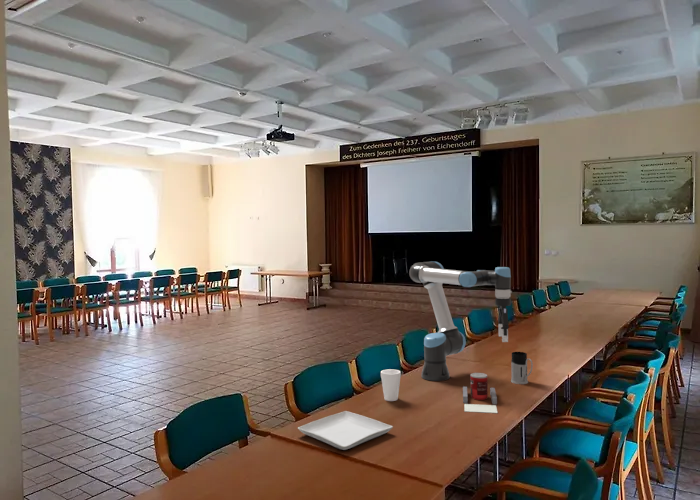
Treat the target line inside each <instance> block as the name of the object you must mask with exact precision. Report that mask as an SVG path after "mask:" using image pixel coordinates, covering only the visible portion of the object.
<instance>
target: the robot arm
mask: <svg viewBox="0 0 700 500" xmlns="http://www.w3.org/2000/svg"><path fill="white" fill-rule="evenodd" d="M408 274H409V277H410V279H411V280H412V281H413V282H415V283H419V284H421V283H422V284H423V287H424V289H427V292H428V295H429V299H430V302H431V305H432V308H433V309H432V310H433V313H434V316H435V317H434V318H435V319H436V322H437V327H438V331H437V332H431V333H428V334H426V335H425V336H424V338H423V345H424V346H423V351H424V353H423V355H424V363H423V366H422V370H421V378H422V379H424V380H427V381H432V382H433V381H435V382H438V381H439V382H440V381H441V382H442V381H446V380H449V379H450V372H449V368H448V365H447V357H448V356H451V355H456V354H458V353H461V352H463V351H464V349H465V347H466V343H467V341H466V337H465V335H464V334H463V333H462V332H460V331H459V328H458V327H457V326H455V324H454V321H453V319H452V318H453V317H452V314H451V311H450V308H449V304H448V301H447V297H446V295H445V290H444V288H443V284H449V285H456V286H457V285H458V286H462V287H463V288H471V287H478V286H479V287H481V286H494V287H495V288H494V290H495V291H494V297H495V301H494V302H495V306H498V315H497V323H498V337H501V342H502V343H509V328H510V327H509V315H508V311H509V310H508V308H507V307H509V306H511V305H512V304H511V303H512V302H511V301H512V300H511V296H512V295H511V294H512V293H513V291H512V290H511V280H512V279H511V278H512V276H511V268H510V267H508V266H507V267H506V266H497V267H495V269H494V270H486V269H477V270H476V271H475V270H474V271H468V270H456V269H446V268H444V266H443V265H442V264H441V263H440V262H438V261H432V260H431V261H423V262H415V263H413V265H411V266H410V269H409V273H408Z"/></svg>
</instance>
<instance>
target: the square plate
mask: <svg viewBox="0 0 700 500" xmlns="http://www.w3.org/2000/svg"><path fill="white" fill-rule="evenodd" d="M393 427H394V426H393V425H391V424H387V423H384V422H383V421H381V420H377V419H375V418H370V417H367V416H365V415H361V414H358V413H354V412H351V411H349V410H348V411H347V410H344V411H341V412H338V413H335V414H330V415H328V416H324V417H322V418H319V419H317V420H313V421H311V422H308V423H306V424H303V425H301V426H298V427H297V430H299V432H301V433H302V434H304V435H306V436H309V437H311V438H314V439H316V440H318V441H320V442H323V443H324V444H325V443H326V444H328V445H329V446H332V447H333V448H336V449H338V450H343V451H347V450H348V449H351V448H355V447H357V446H358V445H361V444H363V443H365V442H368V441H370V440H373V439H375V438H378V437H380V436H382V435H385V434H386V433H388V432H390V431H391V430H392V429H393Z"/></svg>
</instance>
